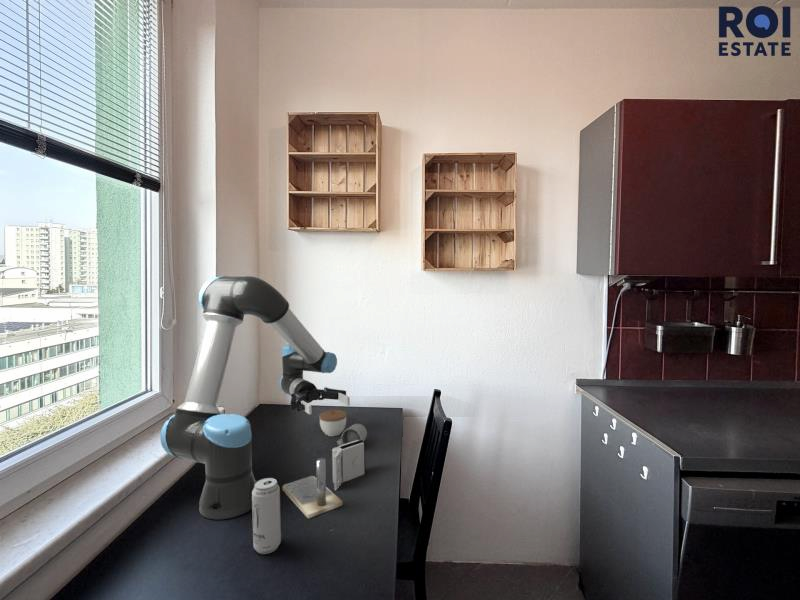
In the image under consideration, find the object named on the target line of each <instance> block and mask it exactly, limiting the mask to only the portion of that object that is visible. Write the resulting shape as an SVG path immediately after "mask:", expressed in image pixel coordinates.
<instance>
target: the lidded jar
mask: <svg viewBox="0 0 800 600" xmlns="http://www.w3.org/2000/svg"><path fill="white" fill-rule="evenodd" d="M347 416H348V414H347V412H346V411H344V410H341V409H330V410H329V409H328V410H324V411H322V412H320V413H319V414H318V417H319V426H320V429H321V430H322V432H323V433H324V434H325V435H326V436H327V435H328V436H327V437H335V436H339V435H342V433H343V432H344V431H345V428H346V425H347Z"/></svg>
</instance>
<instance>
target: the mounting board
mask: <svg viewBox="0 0 800 600" xmlns="http://www.w3.org/2000/svg"><path fill="white" fill-rule="evenodd" d="M313 476H314V475H313ZM314 477H315V478H316V479H317V476H314ZM326 488H327V489H328V490H329V491H330V492H331V493H332V495H330V496H327V497H326V505H325V506H318V505H317V500H316V501H313V502H310V503H308V504H305V505H301V504H300V503H299V502H298V501H297V500H296V498H295V497H294V496H293V495H292V494H291V493H290V492H289V491H288V490H287V489H286V488H285V487H284V485H281V490H282V492H284V493H285V495H286V496H287V497H288V498H289V499H290V500H291V501H292V502H293V504H294V505H295V506H296V507H297V508H298V509H299V511H300V512H302V514H303V515H304V516H305V517H306V518H307V519H311V518H314V517H316V516H319V515H322V514H324V513H327V512H329V511H331V510H334V509H337V508H340V507H341V506H343V505H344V503H343V500H342V499H341V498H339V496H337V495H336V494H335V493H333V491H332V490H330V489H329V488H328V487H327V486H326Z"/></svg>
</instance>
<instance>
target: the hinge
mask: <svg viewBox="0 0 800 600" xmlns="http://www.w3.org/2000/svg"><path fill="white" fill-rule="evenodd" d="M331 451H332V453H331V454H332V455H331V458H332V483H333V489H334V491H336V490H337V489H338V490H339V488H340V487H339V486H341V485H342V484H343V483H345V481H346V482H348V481H351V480H353V479H356V478H359V477H361V476H363V475H365V473H366V472H367V471H366V441H365V440H364V441H363V440H355V441H352V442H349V443H346V444H342V445H337V447H333V448H331ZM341 483H342V484H341ZM338 490H337V491H338Z"/></svg>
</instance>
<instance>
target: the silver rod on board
mask: <svg viewBox="0 0 800 600" xmlns="http://www.w3.org/2000/svg"><path fill="white" fill-rule="evenodd" d="M315 465H316V466H315V468H316V469H315V470H316V476H315V477H316V478H317V479H316V478H315V477H314V475H310V476H307V477H306V476H305V477H304V478H300V479H298V480H294V481H291V482H288V483H284V484H283V486H284V487H285V488H286V489H287V490H288V491H289V492H290V493H291V494H292V495H293V496H294V497H295V498H296V500H297V501H298V502H299V503H300V504H301V505H305V504H308V503H310V502H313V501H316V500H317V505H318V506H325V505H326V497H327V496H330V495H332V493H333V492H332V491H331V490H330V489H329V488H328V487H327V484H326V483H327V482H326V481H327V476H326V474H327V473H326V472H327V471H326V470H327V469H326V467H327V466H326V465H327V464H326V458H324V457H320V458H316V464H315ZM326 487H327V488H328V489H329V490H330V491H331V492H332V493H331V492H330V491H329V490H328V489H327V488H326Z"/></svg>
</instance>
